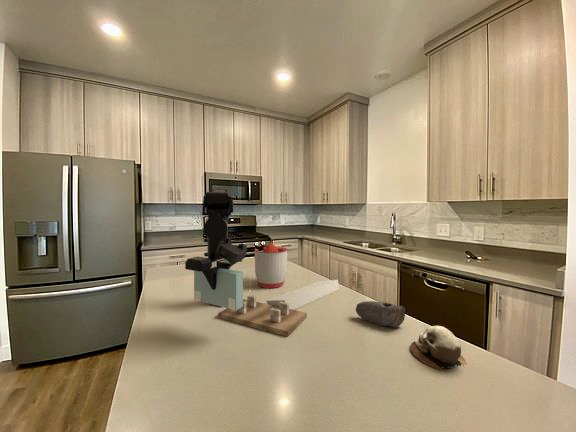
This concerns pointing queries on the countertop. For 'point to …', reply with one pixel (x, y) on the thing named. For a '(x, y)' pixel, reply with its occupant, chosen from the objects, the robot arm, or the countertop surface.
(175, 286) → the countertop surface
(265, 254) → the citrus juicer
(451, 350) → the skull
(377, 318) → the perforated stone tool
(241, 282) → the door
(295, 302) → the decorative molding
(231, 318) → the wooden pegged board
